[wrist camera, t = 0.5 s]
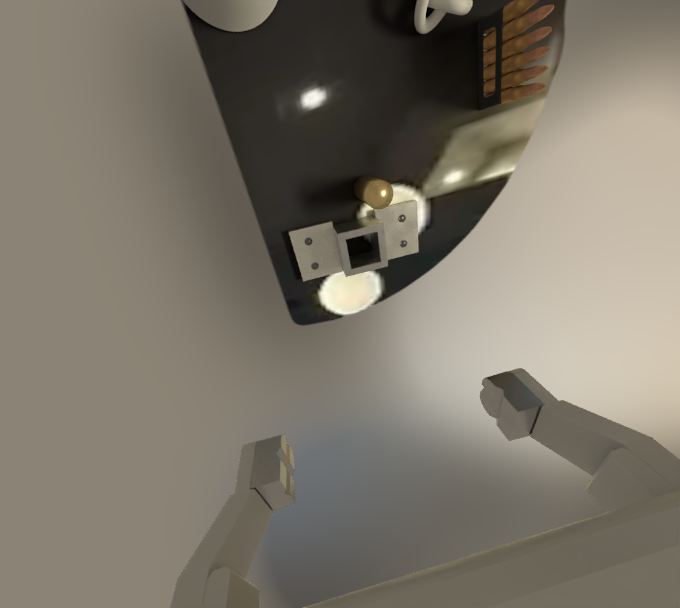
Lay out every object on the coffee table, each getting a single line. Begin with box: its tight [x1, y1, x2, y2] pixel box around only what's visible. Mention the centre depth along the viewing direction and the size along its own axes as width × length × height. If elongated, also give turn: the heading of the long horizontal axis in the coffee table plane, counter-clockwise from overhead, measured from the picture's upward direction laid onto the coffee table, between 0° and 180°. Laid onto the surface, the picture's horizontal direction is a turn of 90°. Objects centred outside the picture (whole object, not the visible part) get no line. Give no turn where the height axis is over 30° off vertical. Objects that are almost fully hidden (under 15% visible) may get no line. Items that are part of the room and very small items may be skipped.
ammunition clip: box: [478, 0, 554, 110], centre depth 35 cm, size 11×2×12 cm, turn 18°
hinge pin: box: [354, 175, 393, 210], centre depth 42 cm, size 4×4×9 cm
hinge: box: [289, 200, 418, 281], centre depth 48 cm, size 10×24×6 cm, turn 101°
